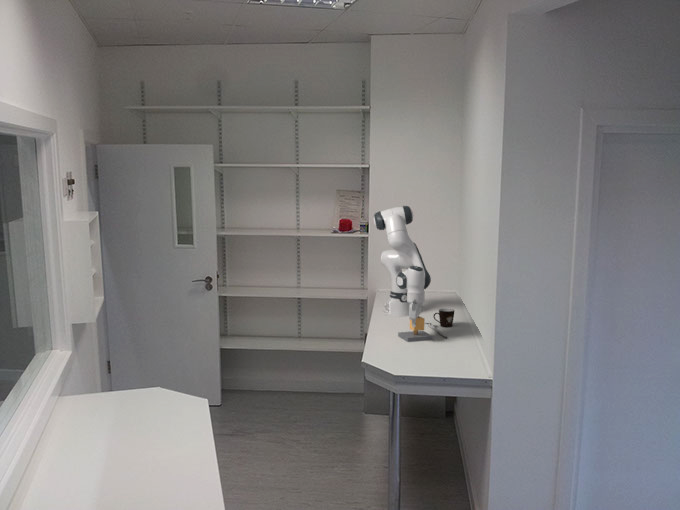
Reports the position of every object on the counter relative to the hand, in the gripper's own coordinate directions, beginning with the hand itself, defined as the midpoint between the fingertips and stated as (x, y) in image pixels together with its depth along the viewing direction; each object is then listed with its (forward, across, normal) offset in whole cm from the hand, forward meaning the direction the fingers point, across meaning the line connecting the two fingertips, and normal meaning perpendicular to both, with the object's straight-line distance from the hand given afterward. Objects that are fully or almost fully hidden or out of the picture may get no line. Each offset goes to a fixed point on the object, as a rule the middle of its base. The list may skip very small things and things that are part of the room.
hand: (415, 325), depth 301 cm
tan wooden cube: (+2, 0, -1) cm, 2 cm away
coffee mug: (+7, +28, -12) cm, 31 cm away
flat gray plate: (+7, 0, 0) cm, 7 cm away
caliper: (+7, +18, -12) cm, 23 cm away
